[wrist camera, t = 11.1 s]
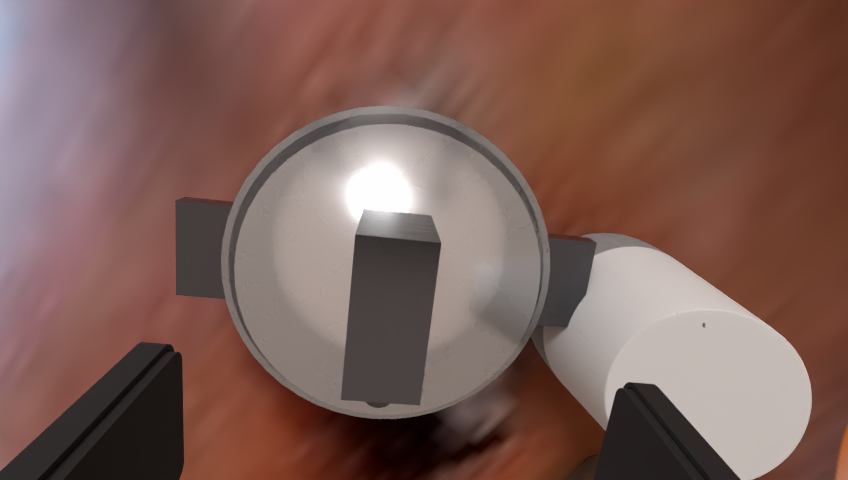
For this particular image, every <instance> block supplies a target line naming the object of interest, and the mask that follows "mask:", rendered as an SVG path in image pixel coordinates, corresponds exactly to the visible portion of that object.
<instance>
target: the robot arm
mask: <svg viewBox="0 0 848 480" xmlns="http://www.w3.org/2000/svg"><path fill="white" fill-rule="evenodd" d="M183 464H184V439H183V383H182V356H181V354H180V353H179V352H174V349H173V346H172V345H170V344H158V343H146V342H141V343H139V344H138V345H136V346H135V347H134V348H133V349H132V350H131V351H130V352H129V353H128V354H127V355H126V356H125V357H123V358H122V359H121V360H120V361H119V362H118V363H117V364H116V365H115V366H114V367H113V368H112V369H111V370H109V371H108V372H107V373H106V374H105V375H104V376H103V377H102V378H101V379H100V380H99V381H98V382H96V383H95V384H94V385H93V386H92V387H91V388H90V389H89V390H88V391H87V392H86V393H85V394H83V395H82V396H81V397H80V398H79V399H78V400H77V401H76V402H75V403H74V404H73V405H72V406H70V407H69V408H68V409H67V410H66V411H65V412H64V413H63V414H62V415H61V416H60V417H59V418H58V419H56V420H55V421H54V422H53V423H52V424H51V425H50V426H49V427H48V428H47V429H46V430H45V431H43V432H42V433H41V434H40V435H39V436H38V437H37V438H36V439H35V440H34V441H33V442H32V443H30V444H29V445H28V446H27V447H26V448H25V449H24V450H23V451H22V452H21V453H20V454H19V455H18V456H16V457H15V458H14V459H13V460H12V461H11V462H10V463H9V464H8V465H7V466H6V467H5V468H3V469H2V470H1V471H0V480H179V479H180V476H181V473H182V470H183ZM594 480H741V479H740V478H739V477H738V476H737V475H736V474H735V473H734V471H733V470H732V469H731V468H730V467H729V466H728V465H727V464H726V462H725V461H724V460H723V459H722V458H721V457H720V456H719V455H718V453H717V452H716V451H715V450H714V449H713V448H712V447H711V446H710V444H709V443H708V442H707V441H706V440H705V439H704V438H703V437H702V436H701V434H700V433H699V432H698V431H697V430H696V429H695V428H694V427H693V425H692V424H691V423H690V422H689V421H688V420H687V419H686V418H685V416H684V415H683V414H682V413H681V412H680V411H679V410H678V409H677V408H676V406H675V405H674V404H673V403H672V402H671V401H670V400H669V399H668V397H667V396H666V395H665V394H664V393H663V392H662V391H661V390H660V388H659V387H658V386H656V385H655V384H647V383H634V382H628V383H626V384H625V385H624V387H623V388H619V389H618V390H617V391H616V394H615V397H614V401H613V405H612V409H611V413H610V417H609V421H608V425H607V429H606V433H605V437H604V441H603V445H602V448H601V452H600V456H599V460H598V464H597V468H596V472H595V476H594Z"/></svg>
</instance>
